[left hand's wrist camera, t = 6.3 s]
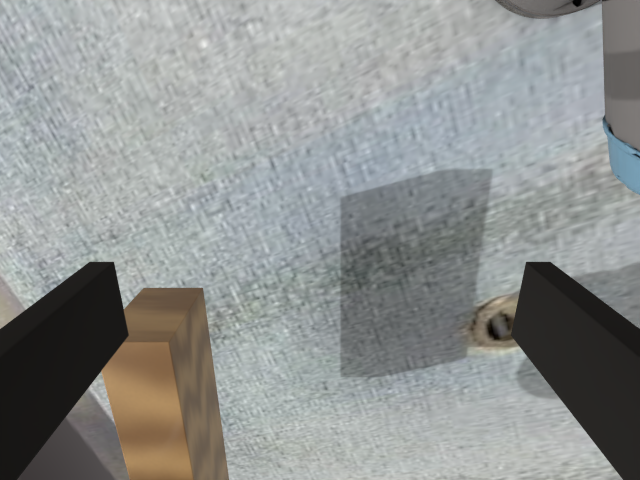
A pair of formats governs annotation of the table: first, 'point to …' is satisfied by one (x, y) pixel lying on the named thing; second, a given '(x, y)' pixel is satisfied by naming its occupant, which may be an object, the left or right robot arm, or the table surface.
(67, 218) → the table surface
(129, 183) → the table surface
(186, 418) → the bar
